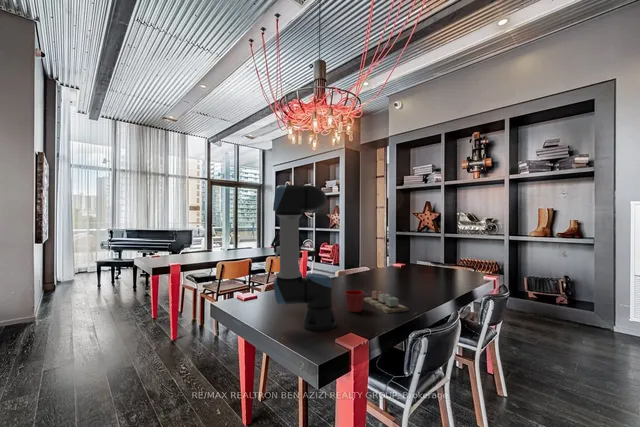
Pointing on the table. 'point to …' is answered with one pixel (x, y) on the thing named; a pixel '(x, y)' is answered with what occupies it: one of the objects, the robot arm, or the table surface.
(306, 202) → the robot arm
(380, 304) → the button board
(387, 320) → the table surface
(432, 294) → the table surface
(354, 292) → the flower pot
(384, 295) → the tile
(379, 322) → the table surface
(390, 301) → the tile
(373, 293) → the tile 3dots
